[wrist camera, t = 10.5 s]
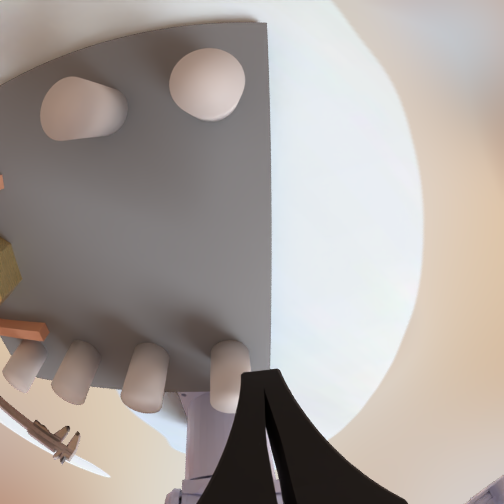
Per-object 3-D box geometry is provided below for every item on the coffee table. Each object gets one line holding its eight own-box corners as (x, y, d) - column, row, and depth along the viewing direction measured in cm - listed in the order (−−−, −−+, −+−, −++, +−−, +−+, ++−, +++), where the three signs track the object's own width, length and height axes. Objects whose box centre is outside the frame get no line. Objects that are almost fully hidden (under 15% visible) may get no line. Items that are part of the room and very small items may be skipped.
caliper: (81, 430, 26) (70, 466, 21) (81, 433, 27) (71, 469, 21) (-28, 370, 22) (-45, 397, 16) (-26, 374, 22) (-42, 401, 16)
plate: (268, 378, 23) (277, 430, 18) (26, 368, 21) (7, 403, 16) (264, 28, 12) (282, -13, 7) (-46, 120, 10) (-88, 129, 5)
